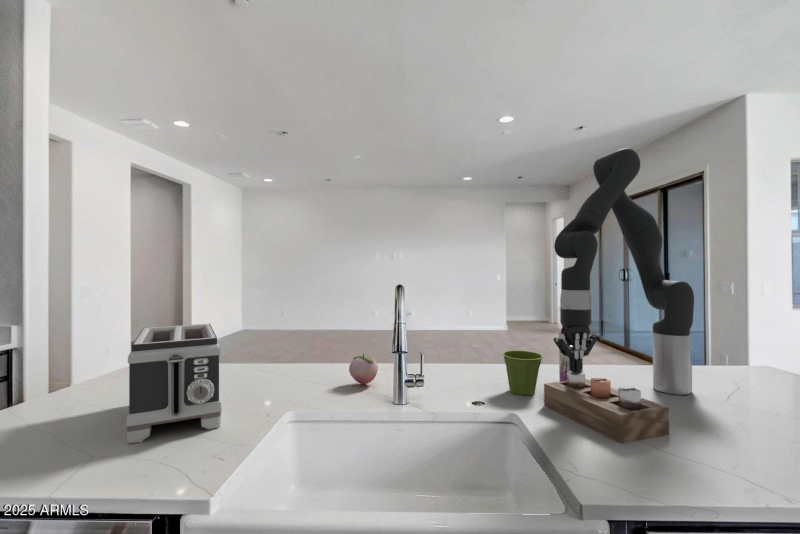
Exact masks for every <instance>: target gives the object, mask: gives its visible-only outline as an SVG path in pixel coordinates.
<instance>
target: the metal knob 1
mask: <svg viewBox="0 0 800 534" xmlns="http://www.w3.org/2000/svg"><path fill="white" fill-rule="evenodd" d="M585 379H586V373H585V372H583V373H582V372H581V373H574V372H571V371H569V372H567V386H568V387H570V388H573V389H584V388H585Z"/></svg>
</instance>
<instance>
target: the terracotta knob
mask: <svg viewBox="0 0 800 534" xmlns="http://www.w3.org/2000/svg"><path fill="white" fill-rule="evenodd" d="M590 380H591V395H592V396H595V397H599V398H610V397H611V388H612V383H611V382H612V381H611V380H610V379H607V378H606V377H603V378H602V377H593V378H592V377H591V378H590Z"/></svg>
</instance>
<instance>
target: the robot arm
mask: <svg viewBox="0 0 800 534" xmlns="http://www.w3.org/2000/svg"><path fill="white" fill-rule="evenodd" d="M640 169H641V159H640V157H639V155H638V153H637V152H636V151H635V150H634V149H633V148H630V147H629V148H628V147H626V148H621V149H618V150H615V151H613V152H610V153H608V154H606V155H604V156H601V157H600V158H597V159H596V160H595V162H594V163H593V174H594V177H595V180H596V182H597V184H598V186H599V187H598V188H597V189H595V191H593V192H592V193H591V194H590V195H589V196H588V197H587V198H586V199H585V201H584V202H583V203H582V204H581V206H580V208H579V210H578V212H577V213H576V215H575V217H574V219H572V220H571V221H570V222H569V223H567V225H566V226H565V227H564V228H562V230H561V231H560V232H559V233H558V235H557V236H556V237H555V241H554V245H553V246H554V252H555V255H557V256H558V257H560V258H561V259H576V260H575V263H574V264H573V265H572V266H568V267H566V268H564V269H562V271H561V277H560V278H561V279H560V281H561V282H560V283H561V284H560V285H561V286H560V287H561V291H560V297H559V298H560V300H559V302H560V303H559V305H560V306H559V307H560V309H559V311H560V313H559V319H560V320H559V323H560V324H561V327H562V328H561V330H560V332H561V335H560V336H559V335H558V337H553V342H554V343H555V345H556V346H557V348H558V350H559V349H560V351H561V352H562V354H563V355H565V356H568V357H569V359H570V370H571V372H574V373H581V370H582V358H584V357H586V356H587V357H588V356H590V352H591V351H592V350H593V348H594V346H595V344H596V343H597V341H598V337H597V336H595V335H593V334H592V333H591V329H590V326H591V325H592V296H591V295H592V294H591V273H592V269H593V266H594V262H595V259H596V255H597V252H598V245H599V244H598V239H597V237H596V235H595V234H597V233H598V232H599V231H600V229H601V228H602V226H603V224H604V222H605V221H606V218H607V216H608V214H609V213H610V211H611V209H612V212H613V214H614V216H615V220H616V221H617V224H618V225H619V228H620V231H621V234H622V236H623V239H624V240H625V243H626V246H627V247H628V250H629V251H630V254H631V257H632V259H633V262H634V264H635V267H636V269H637V272H638V275H639V278H640V282H641V285H642V288H643V293H644V296H645V297H646V300H647V302H648V303H649V305H650V306H651V307H652V308H654V309H656V310H661V311H665V312H664V318H663V319H661V320H659V321H656V322H654V323H653V324H652V388H653V390H656V391H658V392H661V393H665V394H668V395H669V394H670V395H679V396H685V395H690V394H691V393H692V392H693V361H692V359H691V328H692V326H693V323H694V309H695V308H694V307H695V295H694V290H693V288H692V286H691V285H690V283H688V282H686V281H684V280H673V279H672V280H668V279H666V277H665V275H664V273H663V271H662V268H661V264H660V256H661V252H662V247H663V235H662V232H661V231H660V228H659V226H658V223H657V219H656V218H655V217H654V216H653V215H652V214H651V213H650V211H648V210H647V209H645V207H643V206H642V205H640V204H639V203H636V201H634V200H633V198H631V197H630V196H628V194H627V192H626V191H625V190H626V189H627V188H628V187H629V185H630V184H631V183H632V182H633V181H634V179H636V178H637V175H638V174H639V172H640ZM579 345H580V346H579ZM578 350H579V351H578Z"/></svg>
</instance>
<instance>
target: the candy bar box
mask: <svg viewBox="0 0 800 534" xmlns="http://www.w3.org/2000/svg"><path fill="white" fill-rule="evenodd" d="M560 335H561V331H558V337H559V336H560ZM579 346H580V345H579ZM578 351H579V350H578ZM558 358H559V359H558V362H559V363H558V365H559V366H558V367H559V371H558V372H559V382H561V381H567V372H569V371H571V370H570V359H569V357H568V356H565V355H563V354H562V352H561V351H560V349H559V348H558ZM583 358H584V357H583ZM583 358H582V370H581V372H582V373H584V372H583V371H584V368H583V367H584V365H583V364H584V363H583Z"/></svg>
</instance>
